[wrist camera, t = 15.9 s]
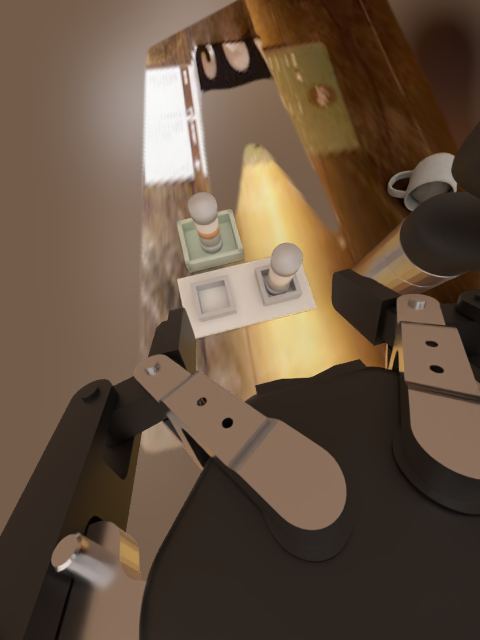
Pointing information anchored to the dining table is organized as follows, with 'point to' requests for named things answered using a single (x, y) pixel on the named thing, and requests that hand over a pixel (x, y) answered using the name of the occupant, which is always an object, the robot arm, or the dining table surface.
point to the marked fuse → (206, 221)
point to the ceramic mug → (426, 180)
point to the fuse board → (240, 298)
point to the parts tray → (203, 260)
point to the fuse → (283, 268)
